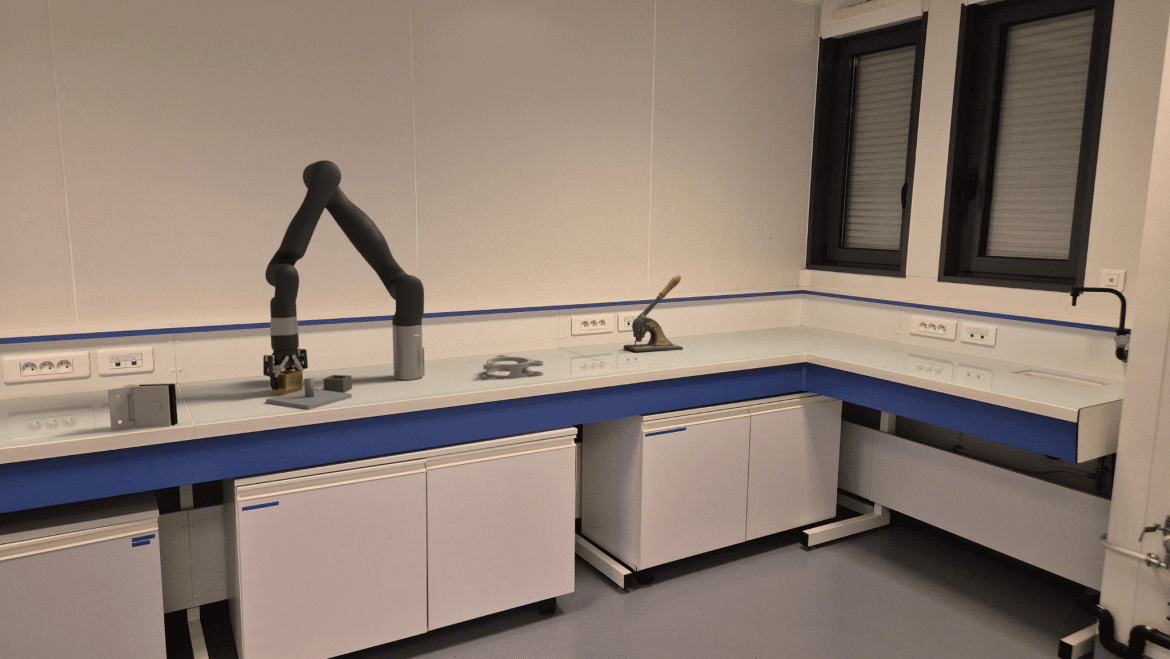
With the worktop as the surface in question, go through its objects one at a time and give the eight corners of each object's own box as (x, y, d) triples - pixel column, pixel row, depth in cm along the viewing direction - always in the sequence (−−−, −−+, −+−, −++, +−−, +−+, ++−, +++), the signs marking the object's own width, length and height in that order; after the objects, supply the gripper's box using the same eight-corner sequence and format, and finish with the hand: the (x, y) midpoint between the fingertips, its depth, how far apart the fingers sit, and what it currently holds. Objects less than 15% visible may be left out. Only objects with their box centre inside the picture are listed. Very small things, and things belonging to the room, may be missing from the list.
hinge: (110, 431, 178) (107, 389, 177) (114, 426, 183) (111, 385, 182) (176, 425, 184) (174, 385, 183) (179, 420, 189) (176, 381, 187)
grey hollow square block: (332, 387, 227) (332, 374, 227) (351, 388, 227) (351, 375, 226) (323, 392, 221) (323, 378, 221) (343, 392, 221) (343, 379, 220)
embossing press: (621, 349, 305) (623, 274, 300) (673, 345, 314) (675, 273, 310) (634, 353, 295) (635, 276, 290) (686, 350, 304) (688, 275, 300)
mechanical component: (486, 381, 241) (485, 366, 240) (471, 371, 258) (471, 356, 257) (545, 377, 248) (545, 362, 248) (527, 367, 266) (527, 353, 265)
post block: (310, 391, 222) (309, 371, 221) (351, 397, 215) (351, 376, 214) (266, 402, 208) (265, 381, 207) (309, 409, 201) (308, 387, 200)
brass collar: (287, 389, 225) (287, 369, 224) (302, 391, 222) (301, 371, 221) (271, 393, 219) (270, 373, 219) (286, 395, 217) (285, 375, 216)
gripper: (294, 328, 226) (296, 381, 229) (255, 334, 214) (257, 390, 216) (312, 330, 223) (314, 383, 225) (274, 336, 210) (276, 393, 213)
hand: (287, 386), depth 221 cm, fingers open, 8 cm apart
